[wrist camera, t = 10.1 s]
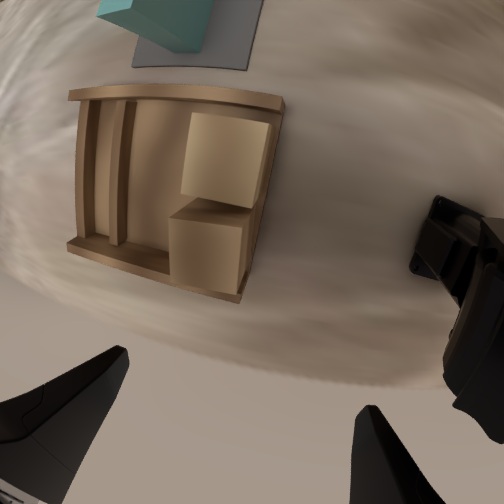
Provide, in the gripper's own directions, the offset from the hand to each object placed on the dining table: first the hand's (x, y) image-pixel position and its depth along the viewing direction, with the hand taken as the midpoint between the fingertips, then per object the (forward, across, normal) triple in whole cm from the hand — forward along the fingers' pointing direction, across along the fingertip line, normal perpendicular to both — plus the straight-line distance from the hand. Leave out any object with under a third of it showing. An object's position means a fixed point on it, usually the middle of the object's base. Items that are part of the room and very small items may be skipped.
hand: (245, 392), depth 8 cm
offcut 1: (+12, +4, -6) cm, 14 cm away
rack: (+13, +9, -4) cm, 16 cm away
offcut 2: (+12, +4, -1) cm, 13 cm away
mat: (+13, +9, -18) cm, 24 cm away
